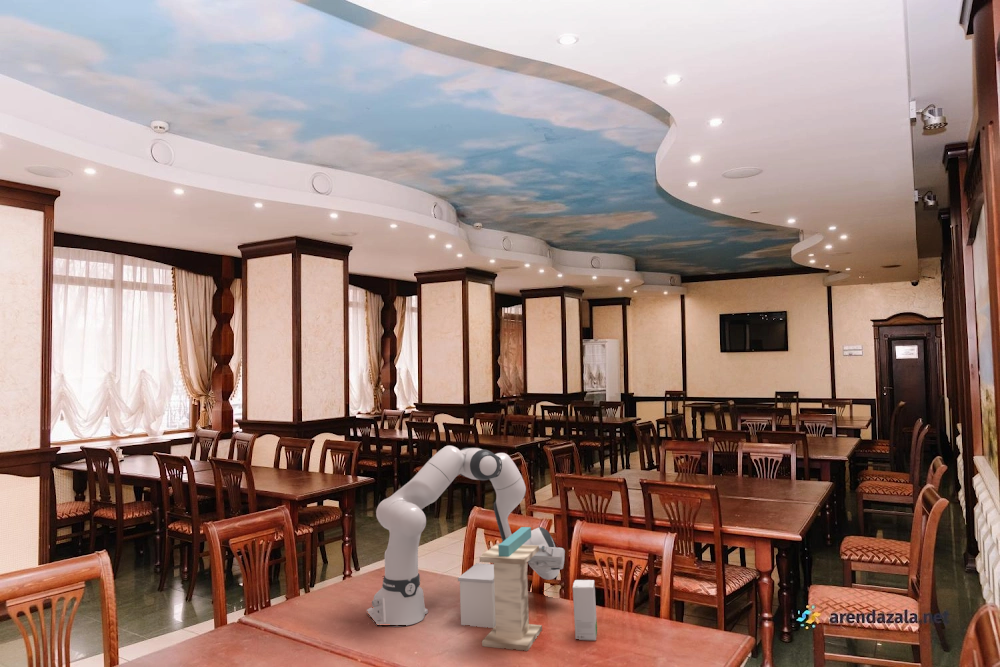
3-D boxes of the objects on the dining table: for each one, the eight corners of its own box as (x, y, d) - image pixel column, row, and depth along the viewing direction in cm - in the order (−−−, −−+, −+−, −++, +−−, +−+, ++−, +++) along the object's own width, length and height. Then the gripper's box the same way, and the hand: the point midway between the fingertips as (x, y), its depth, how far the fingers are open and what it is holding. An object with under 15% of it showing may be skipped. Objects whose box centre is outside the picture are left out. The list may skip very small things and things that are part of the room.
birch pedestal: (499, 626, 211) (496, 543, 213) (542, 630, 207) (538, 545, 208) (482, 646, 196) (479, 556, 198) (527, 650, 192) (524, 559, 193)
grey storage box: (477, 607, 229) (476, 563, 230) (510, 610, 225) (508, 565, 226) (459, 625, 213) (458, 577, 214) (493, 628, 209) (492, 580, 210)
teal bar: (522, 536, 221) (521, 526, 221) (531, 537, 220) (530, 527, 220) (498, 556, 198) (498, 545, 198) (508, 556, 197) (508, 545, 197)
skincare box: (595, 641, 197) (593, 587, 198) (573, 640, 198) (571, 587, 199) (597, 630, 205) (595, 579, 206) (576, 629, 206) (574, 578, 207)
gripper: (513, 547, 240) (502, 536, 229) (568, 551, 233) (560, 539, 222) (511, 565, 236) (499, 554, 225) (567, 569, 230) (558, 558, 219)
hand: (530, 547), depth 224 cm, fingers open, 8 cm apart
